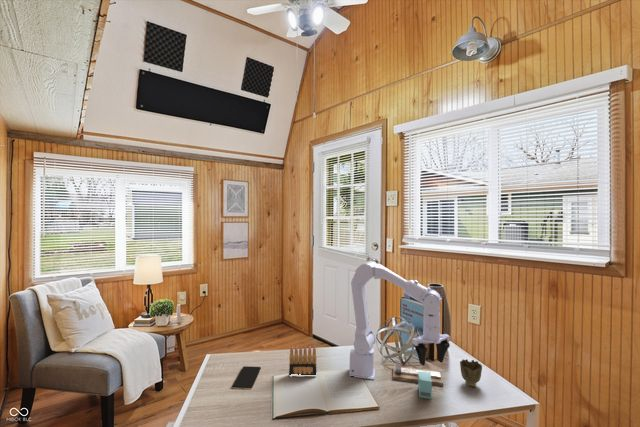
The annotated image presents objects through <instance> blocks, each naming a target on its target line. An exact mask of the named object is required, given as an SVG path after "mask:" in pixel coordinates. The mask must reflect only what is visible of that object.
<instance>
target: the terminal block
mask: <svg viewBox="0 0 640 427" xmlns="http://www.w3.org/2000/svg"><path fill="white" fill-rule="evenodd" d="M417 385H418V386H417V388H418V397H419V398H422V399H423V398H424V399H428V400H432V389H433V385H432V381H431V375H430V373H427V372H419V371H418V384H417Z"/></svg>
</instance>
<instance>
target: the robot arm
mask: <svg viewBox="0 0 640 427" xmlns="http://www.w3.org/2000/svg"><path fill="white" fill-rule="evenodd" d="M372 278H374V280H378V279H380V280H381V279H383V280H386V281H387V282H389V283H391V284H393V285H395V286H397V287H399V288H401V289H402V290H403V293H404V294H406V295H407V296H409V297H410V298H413V299H414V300H416V301H417V302H419V303H422V305H423V316H422V317H423V321H422V322H423V323H422V324H423V325H422V328H423V329H422V331H423V332H422V335H419V336H417V337H415V338H412V345H413V347H414V348H415V352H416V353H417V357H418V363H419V364H420V365H422V366H425V365H426V355H427V354H426V353H427V351H428V348H427V347H426V346H425V344H426V345H427V344H435V347H436V361H438V362H439V363H440V364H443V361H444V358H445V355H446V353H447V351H448V349H449V348H450V345H451V344H450V343H449V342H450V341H451V336H450V335H449V334H447V333H444V334H441V308H440V307H441V301H442V298H441V294H440V293H439V292H438V291H436V290H435V289H431V288H430V287H426V286H424V285H422V284H420V283H419V281H418V280H416V279H410V280H407V279H405V278H404V277H402V276H400V275H398V274H397V273H395V272H394V271H392V270H390V269H389V268H387V267H386V266H384V265H382V264H381V263H377V261H374V260H368V261H367V262H365V263H362V264H360V265H359V266H358V267H357V268H356V269H355V272H354V275H353V277H352V280H351V281H350V287H351V294H352V301H353V307H354V308H353V309H354V310H353V311H354V316H355V317H354V318H355V326H356V328H355V331H354V332H355V333H354V341H353V348H352V349H350V352H349V374H348V376H349V377H351V376H354V377H353V378H360V379H365V380H366V379H367V380H374V379H375V377H376V376H375V374H376V368H375V349H374V345H375V343H376V336H375V334H374V332H373V328H372V325H370V320H369V310H368V303H367V295H366V287H365V286H366V285H367V283H368V282H369V281H370V280H371V279H372Z"/></svg>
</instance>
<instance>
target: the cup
mask: <svg viewBox="0 0 640 427" xmlns="http://www.w3.org/2000/svg"><path fill="white" fill-rule="evenodd" d="M459 364H460V365H459V366H460V367H459V368H460V373H461V376H462V379H464V382H465V385H466V386H467V387H470V388H475V387H476V386H477V384H478V383H479V381H480V380H481V377H482V373H483V372H482V370H483V365H482V364H481V363H479V362H478V361H475V360H474V359H472V360H470V361H469V360H468V359H462V360H460V361H459Z"/></svg>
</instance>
